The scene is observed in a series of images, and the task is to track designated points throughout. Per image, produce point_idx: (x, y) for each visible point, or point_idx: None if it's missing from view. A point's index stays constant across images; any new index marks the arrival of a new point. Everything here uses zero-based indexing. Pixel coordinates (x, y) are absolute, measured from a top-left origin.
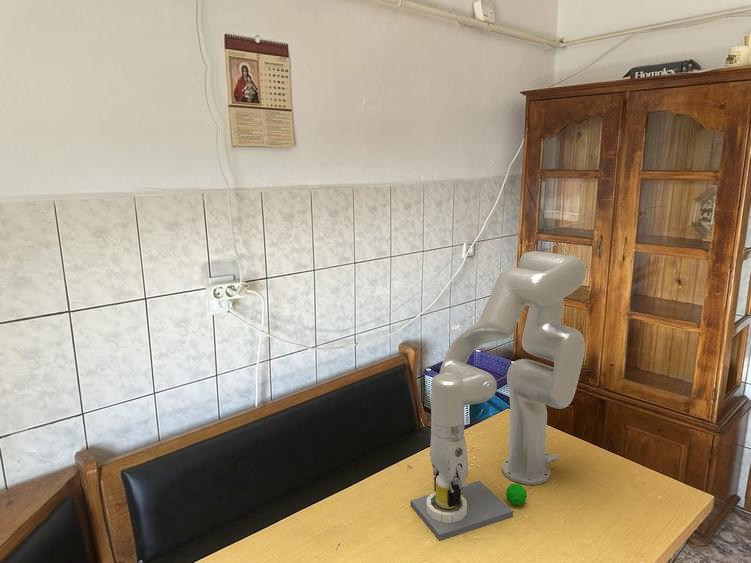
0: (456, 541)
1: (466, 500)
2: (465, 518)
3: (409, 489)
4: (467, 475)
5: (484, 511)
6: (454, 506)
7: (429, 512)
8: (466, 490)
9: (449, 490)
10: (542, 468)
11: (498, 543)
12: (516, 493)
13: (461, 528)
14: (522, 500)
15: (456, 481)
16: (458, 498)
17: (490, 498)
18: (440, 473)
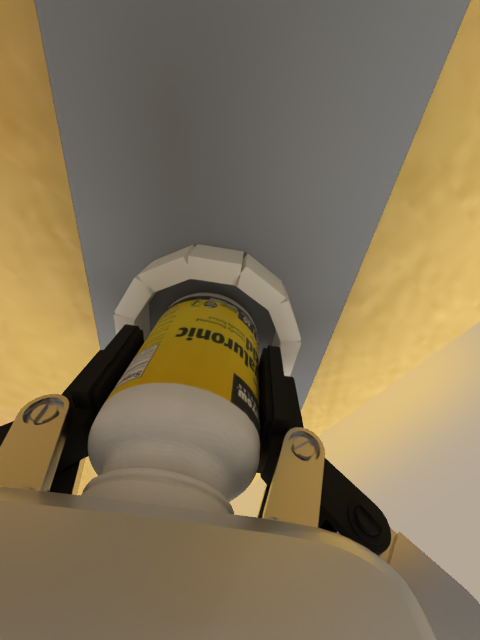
0: (334, 364)
1: (200, 209)
2: (300, 304)
3: (22, 324)
4: (423, 613)
5: (326, 192)
6: (258, 350)
7: None
8: (116, 133)
9: (260, 466)
10: None
11: (463, 265)
12: None
13: (326, 346)
14: None
15: (246, 457)
16: (294, 397)
17: (263, 34)
18: None
